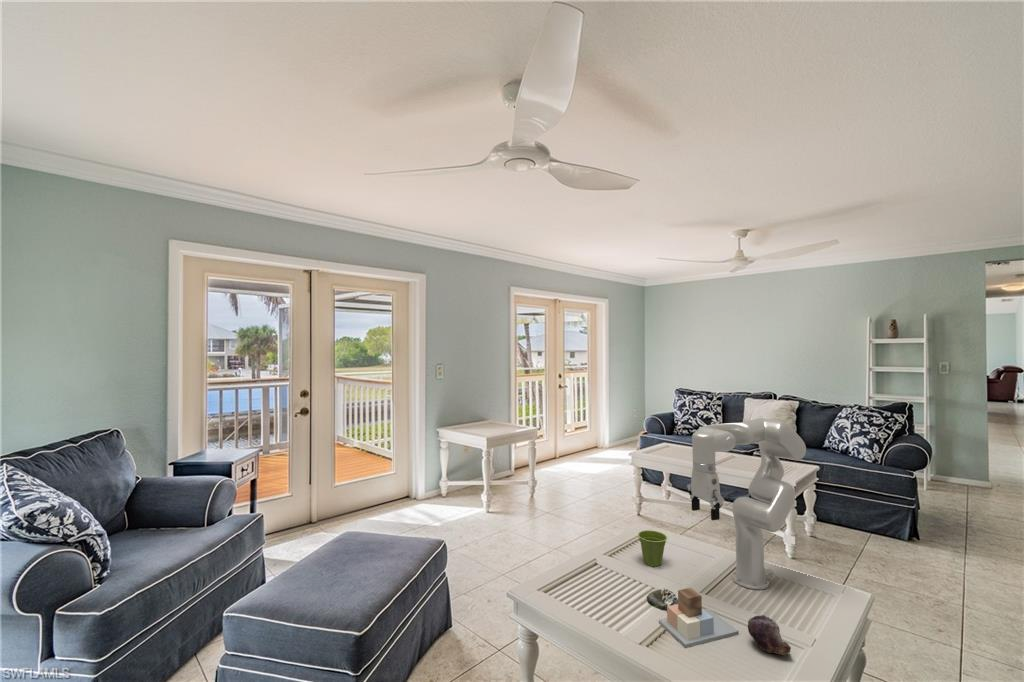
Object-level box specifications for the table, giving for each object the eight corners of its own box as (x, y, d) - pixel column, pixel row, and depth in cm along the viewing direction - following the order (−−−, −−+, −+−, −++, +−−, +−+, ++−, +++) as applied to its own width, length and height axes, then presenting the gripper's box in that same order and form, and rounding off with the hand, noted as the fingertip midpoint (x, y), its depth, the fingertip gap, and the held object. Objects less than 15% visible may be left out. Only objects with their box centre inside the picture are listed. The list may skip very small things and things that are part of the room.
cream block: (689, 627, 145) (689, 612, 145) (700, 636, 141) (700, 620, 141) (677, 630, 144) (677, 615, 144) (687, 639, 139) (687, 623, 139)
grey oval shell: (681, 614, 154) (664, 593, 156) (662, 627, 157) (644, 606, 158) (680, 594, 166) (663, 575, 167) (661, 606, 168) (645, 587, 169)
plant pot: (671, 569, 185) (671, 541, 185) (642, 569, 185) (642, 541, 185) (662, 556, 197) (662, 529, 197) (634, 556, 197) (634, 529, 197)
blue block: (702, 624, 147) (702, 609, 147) (713, 633, 142) (713, 617, 142) (690, 627, 145) (690, 612, 145) (701, 636, 141) (700, 620, 141)
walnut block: (691, 606, 149) (690, 587, 149) (701, 614, 144) (701, 595, 144) (678, 609, 147) (677, 590, 147) (688, 617, 142) (688, 598, 142)
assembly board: (708, 611, 156) (708, 608, 156) (738, 634, 143) (738, 631, 143) (658, 622, 149) (658, 619, 149) (685, 647, 137) (685, 644, 137)
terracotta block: (679, 618, 150) (679, 603, 150) (689, 627, 146) (689, 611, 146) (667, 621, 149) (667, 606, 149) (676, 630, 144) (676, 614, 144)
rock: (772, 640, 142) (740, 639, 142) (770, 610, 144) (738, 610, 144) (796, 659, 131) (761, 659, 131) (793, 626, 132) (759, 626, 132)
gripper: (731, 472, 157) (732, 522, 157) (695, 460, 173) (696, 505, 173) (713, 474, 154) (714, 525, 154) (679, 462, 171) (680, 508, 171)
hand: (705, 514), depth 164 cm, fingers open, 9 cm apart
